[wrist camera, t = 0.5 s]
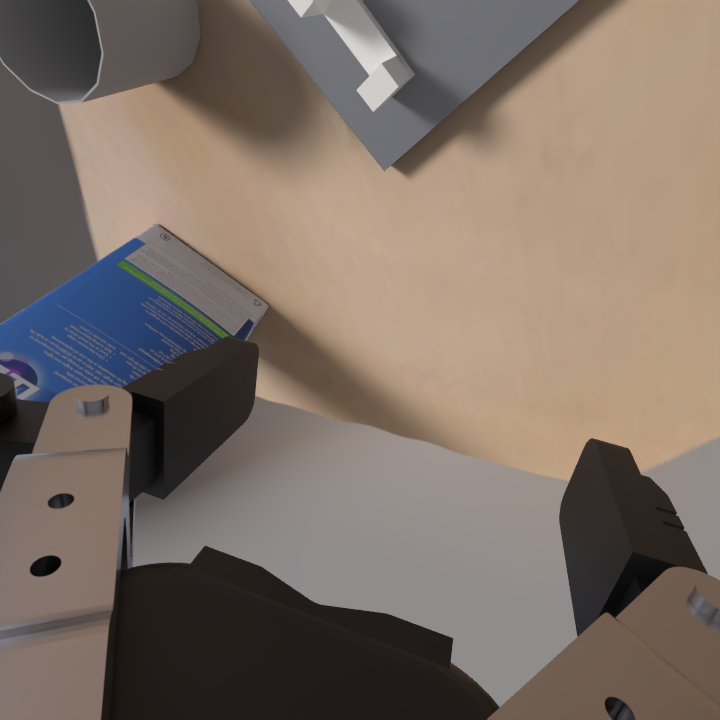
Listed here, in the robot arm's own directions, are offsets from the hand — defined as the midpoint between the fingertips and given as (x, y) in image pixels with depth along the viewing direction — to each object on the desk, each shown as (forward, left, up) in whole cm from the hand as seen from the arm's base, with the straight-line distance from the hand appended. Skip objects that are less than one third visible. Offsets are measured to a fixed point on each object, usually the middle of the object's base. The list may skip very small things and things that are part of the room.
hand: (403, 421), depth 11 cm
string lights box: (-6, -30, -28) cm, 42 cm away
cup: (-22, -14, -28) cm, 38 cm away
